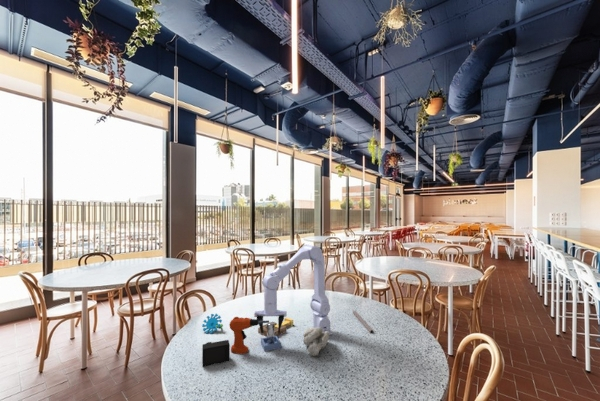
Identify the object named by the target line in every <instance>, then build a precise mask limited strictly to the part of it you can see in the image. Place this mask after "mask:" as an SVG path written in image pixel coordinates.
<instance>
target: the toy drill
mask: <svg viewBox="0 0 600 401" xmlns="http://www.w3.org/2000/svg"><path fill="white" fill-rule="evenodd" d="M269 322H270V320H263V321H259V320H257V318H256V319H255V318H250V317H239V316H234V317H233V319H231V320H230V322H229V329H230V330H231V331H232V332H233V336H234V340H233V344H232V345H231V346H230V352H231V353H233V354H236V355H237V354H238V355H244V354H247V353H248V352H249V347H248V346H247V345H245V342H244V340H246V339H247V335H246V333H245V331H244V330H247V329H249V328H252V327H256V326H259V323H260V324H261V323H263V324H267V323H269Z"/></svg>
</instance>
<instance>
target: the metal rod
mask: <svg viewBox="0 0 600 401" xmlns="http://www.w3.org/2000/svg"><path fill="white" fill-rule="evenodd" d="M352 314H353V315H354V317H355V318H356V319H357V320H358V321H359V322H360V323H361V324H362V326H363V327H364V328H365V329H366V330H367V331H368V332H369V334H374V332H375V331H374V330H373V328H371V327H370V325H369V324H368V323H367V322H366V320H364V319H363V317H361V315H360V314H359V313H358V312H357V311H356V310H353V311H352Z"/></svg>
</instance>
